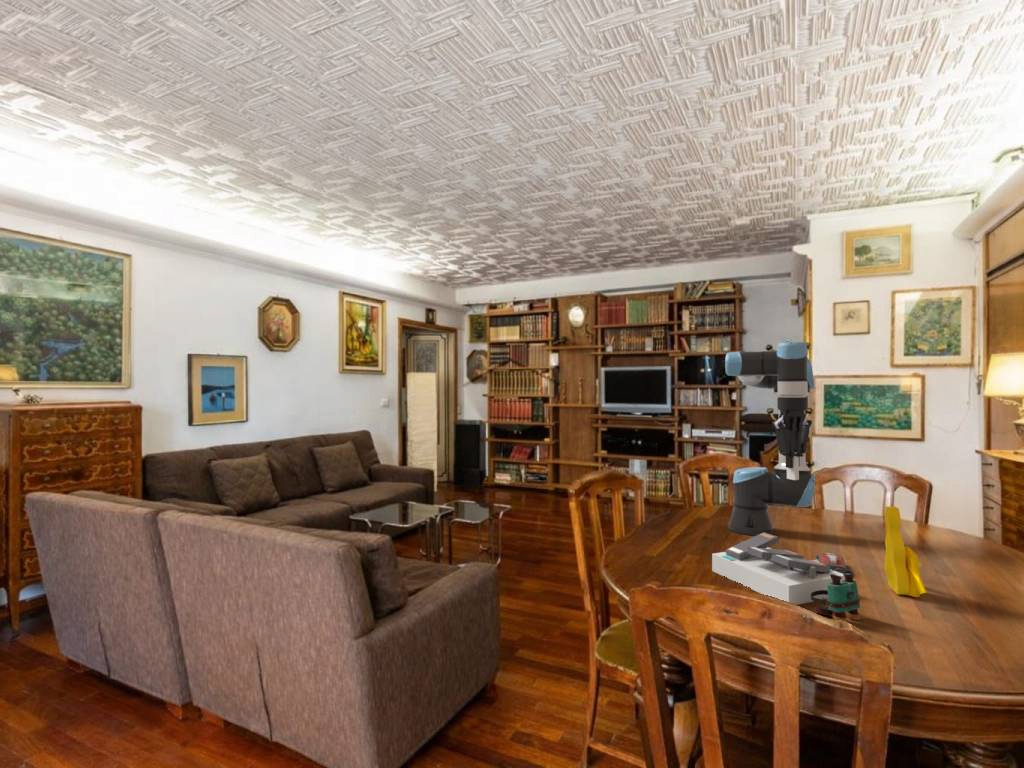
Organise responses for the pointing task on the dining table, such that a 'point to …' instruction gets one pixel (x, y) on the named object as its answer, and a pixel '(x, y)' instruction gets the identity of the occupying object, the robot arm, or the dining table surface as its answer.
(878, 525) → the dining table surface
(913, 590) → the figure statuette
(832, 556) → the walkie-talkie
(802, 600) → the console
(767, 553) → the switch
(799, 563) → the switch
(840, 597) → the binoculars
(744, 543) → the switch
